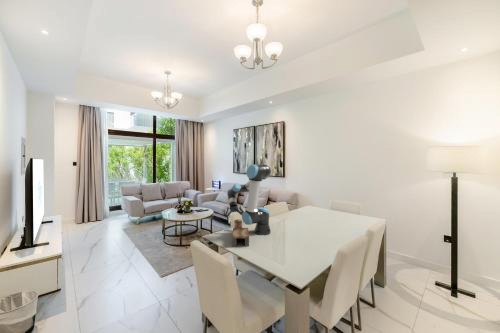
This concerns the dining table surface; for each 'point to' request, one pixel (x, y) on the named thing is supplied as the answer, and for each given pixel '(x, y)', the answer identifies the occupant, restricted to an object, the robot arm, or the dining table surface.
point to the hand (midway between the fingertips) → (236, 222)
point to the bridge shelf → (241, 235)
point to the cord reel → (237, 223)
